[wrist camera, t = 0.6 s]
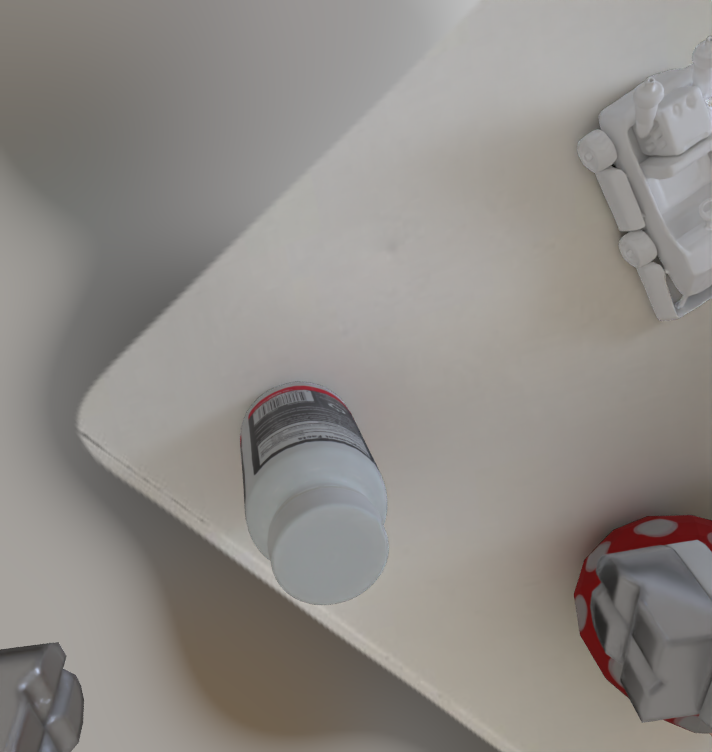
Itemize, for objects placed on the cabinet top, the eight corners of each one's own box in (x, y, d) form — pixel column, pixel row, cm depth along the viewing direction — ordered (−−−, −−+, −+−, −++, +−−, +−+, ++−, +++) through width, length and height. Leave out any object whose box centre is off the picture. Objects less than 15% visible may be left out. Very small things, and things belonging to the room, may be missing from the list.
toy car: (650, 330, 32) (711, 357, 28) (554, 109, 27) (611, 104, 23) (754, 261, 32) (830, 278, 28) (675, 26, 27) (754, 7, 23)
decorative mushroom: (793, 667, 39) (882, 538, 29) (730, 846, 34) (810, 766, 24) (613, 575, 45) (633, 442, 35) (537, 714, 40) (533, 605, 30)
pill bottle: (335, 490, 32) (381, 631, 23) (227, 472, 30) (230, 615, 21) (367, 391, 30) (430, 500, 21) (255, 366, 29) (271, 472, 20)
